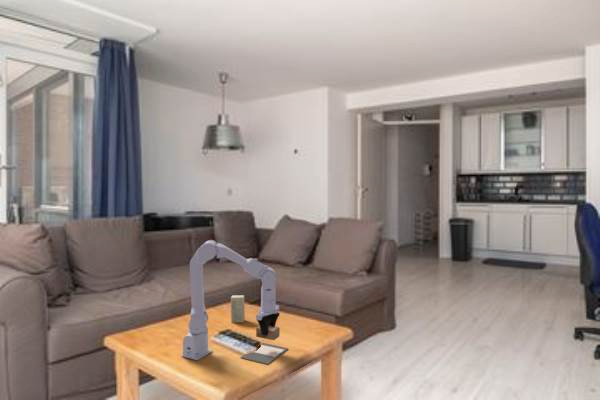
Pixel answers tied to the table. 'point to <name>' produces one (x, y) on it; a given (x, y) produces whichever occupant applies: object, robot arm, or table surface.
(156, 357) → the table surface
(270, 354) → the mat
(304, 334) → the table surface
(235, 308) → the skincare box
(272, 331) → the banded brown carton
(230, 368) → the table surface
